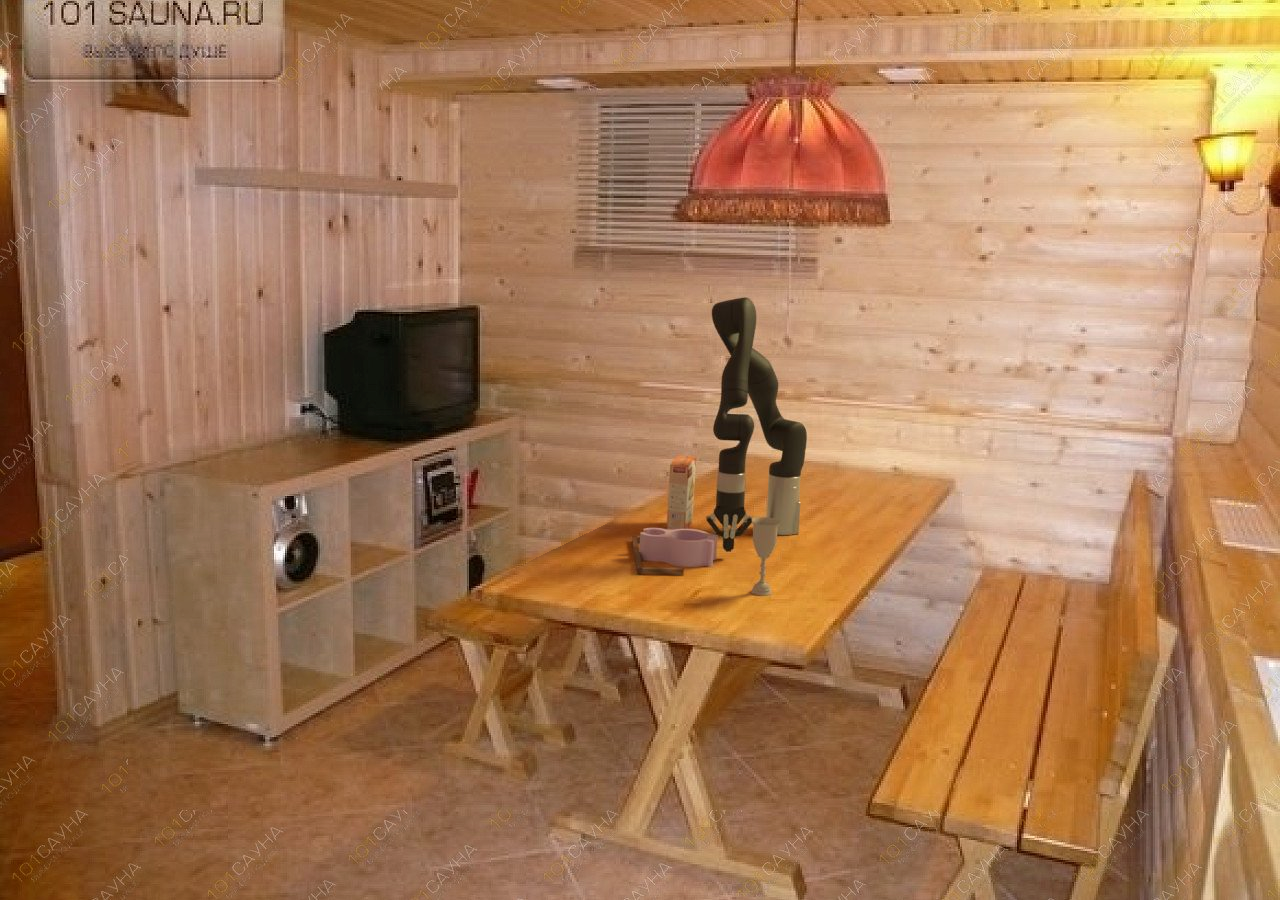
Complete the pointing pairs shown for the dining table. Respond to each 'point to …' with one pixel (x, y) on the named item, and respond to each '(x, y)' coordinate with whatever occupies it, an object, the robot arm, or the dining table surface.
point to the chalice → (764, 548)
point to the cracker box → (681, 492)
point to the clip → (678, 546)
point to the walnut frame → (651, 570)
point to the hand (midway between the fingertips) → (727, 550)
